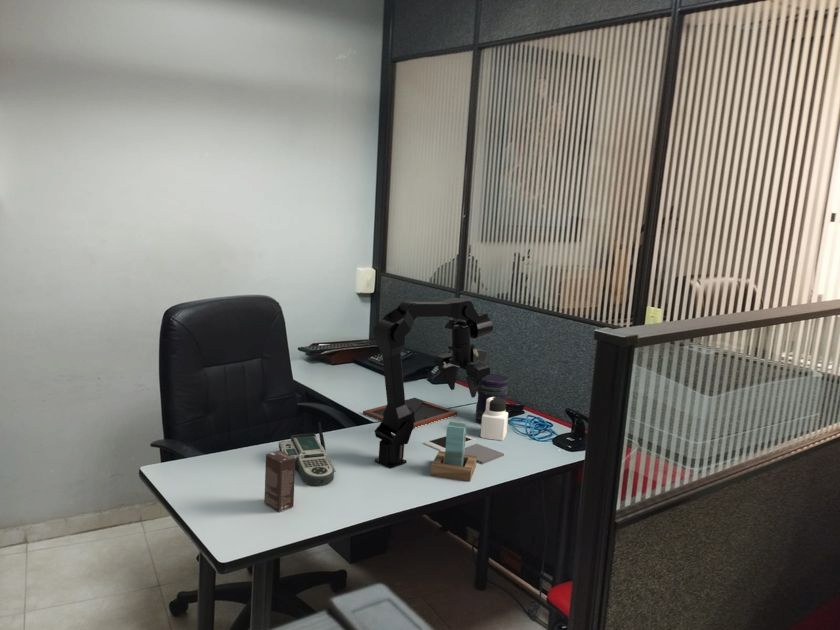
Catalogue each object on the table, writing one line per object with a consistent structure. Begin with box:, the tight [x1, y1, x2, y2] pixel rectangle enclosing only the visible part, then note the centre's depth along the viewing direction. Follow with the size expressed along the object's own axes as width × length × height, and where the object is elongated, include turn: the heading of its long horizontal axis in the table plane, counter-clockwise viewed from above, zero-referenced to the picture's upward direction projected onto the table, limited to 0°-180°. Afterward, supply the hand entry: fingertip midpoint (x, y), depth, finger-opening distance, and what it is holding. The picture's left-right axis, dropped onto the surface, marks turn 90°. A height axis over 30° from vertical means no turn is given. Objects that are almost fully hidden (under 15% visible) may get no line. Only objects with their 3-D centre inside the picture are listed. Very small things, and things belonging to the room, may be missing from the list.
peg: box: [444, 420, 468, 467], centre depth 181 cm, size 4×4×13 cm
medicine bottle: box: [480, 397, 509, 442], centre depth 210 cm, size 7×7×12 cm
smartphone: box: [423, 434, 476, 451], centre depth 204 cm, size 7×16×1 cm, turn 134°
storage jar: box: [475, 373, 509, 425], centre depth 223 cm, size 10×10×15 cm
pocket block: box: [430, 450, 477, 482], centre depth 182 cm, size 10×10×3 cm
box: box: [263, 450, 296, 513], centre depth 156 cm, size 6×4×12 cm
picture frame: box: [362, 397, 459, 429], centre depth 227 cm, size 20×2×25 cm
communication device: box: [278, 421, 336, 487], centre depth 178 cm, size 12×24×9 cm, turn 23°
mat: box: [465, 443, 505, 465], centre depth 195 cm, size 10×10×1 cm
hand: (462, 393), depth 198 cm, fingers open, 9 cm apart
